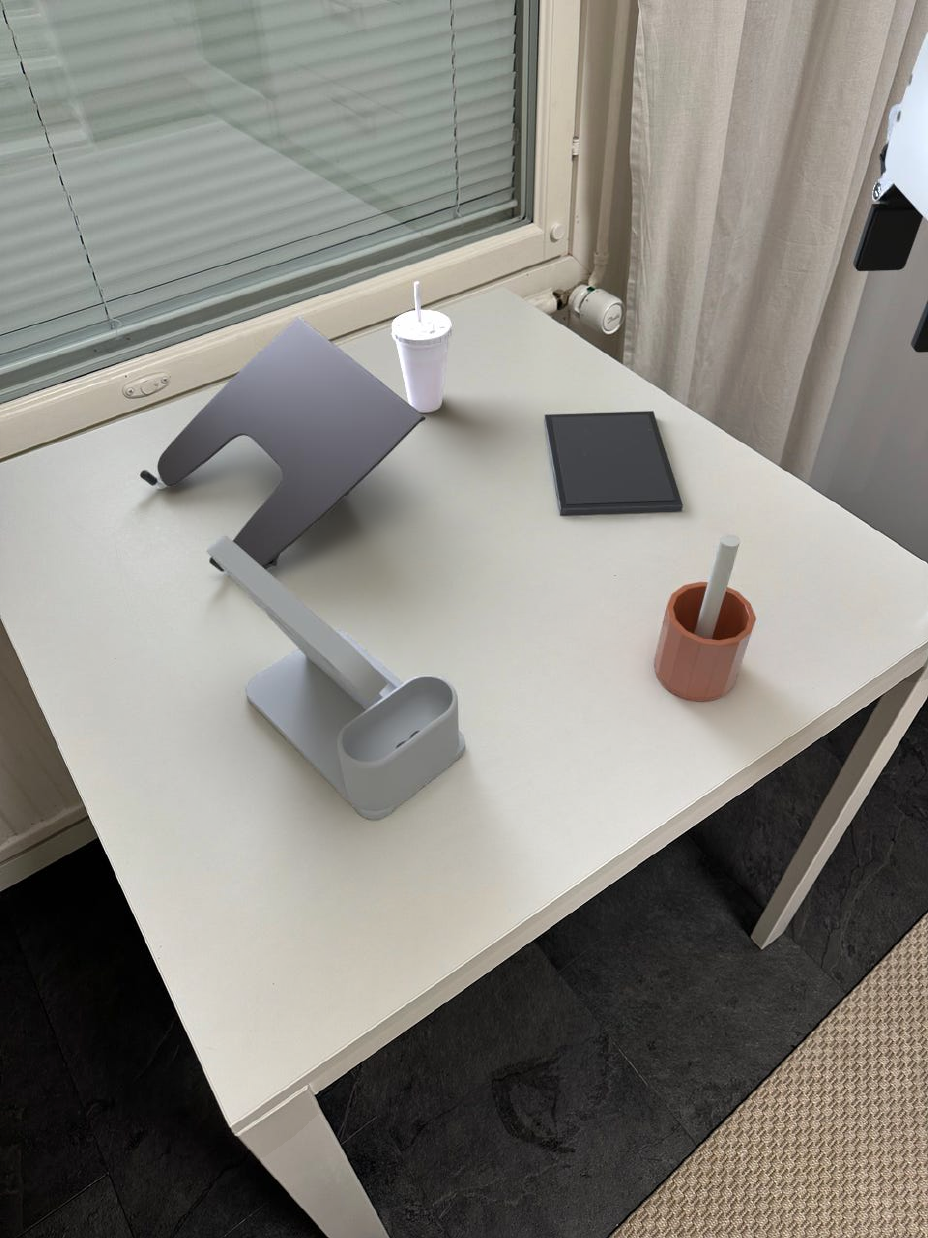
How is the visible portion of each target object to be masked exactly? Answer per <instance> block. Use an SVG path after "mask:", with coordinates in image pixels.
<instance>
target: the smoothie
mask: <svg viewBox="0 0 928 1238" xmlns="http://www.w3.org/2000/svg"><path fill="white" fill-rule="evenodd" d="M413 287H414V289H413V290H414V304H415V310H410V311H407V312H404V313H402V314H400V315H398V316H397V317H396V318H395V319H394V320H393V322H392V323H391V329H392V331H391V336H392V338H393V340H394V341H395V342H396V347H397V352H398V356H399V361H400V366H401V371H402V375H403V381H404V385H405V390H406V396H407V402H408V404H410V405H411V406H412V407H413V408H415V409H416V410H417V411H418V412H420V413H421V414H422V413H423V414H425V413H432V412H435V411H437V410H439V409H440V408H441V407H442V405H443V396H444V387H445V377H446V369H447V360H448V352H449V351H448V350H449V340H450V339H451V338H452V336H453V328H452V327H453V326H452V321H451V319H450V318H449V317H448V316H447V315H445V314H444V313H442V312H439V311H435V310H430V309H422V308H421V307H422V305H421V284H420V281H414V282H413Z"/></svg>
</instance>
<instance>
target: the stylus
mask: <svg viewBox="0 0 928 1238" xmlns="http://www.w3.org/2000/svg"><path fill="white" fill-rule="evenodd" d="M740 544H741V540H740V538H739V537H738V536H737V535H735V534H733V533H724V534H723V533H722V534H721V536H720V537H719V540H718V543H717V547H716V550H715V555H714V558H713V562H712V567H711V569H710V574H709V577H708V581H707V582H708V584H707V588H706V592H705V595H704V599H703V603H702V607H701V610H700V614H699V618H698V622H697V625H696V629H695V633H694V635H697V636H699V637H701V638H704V639H712V636H713V633H714V630H715V626H716V623H717V619H718V616H719V612H720V609H721V605H722V602H723V599H724V595H725V592H726V588H727V587H728V584H729V580H730V577H731V574H732V570H733V568H734V564H735V561H736V558H737V554H738V550H739V547H740Z"/></svg>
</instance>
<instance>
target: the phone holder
mask: <svg viewBox="0 0 928 1238" xmlns="http://www.w3.org/2000/svg"><path fill="white" fill-rule="evenodd" d="M206 553H207V554H208V555H209V556H210V558H211V557H212V558H213V559H214V560H215V561H216V562H217V563H218V564H219V565H220V566H221V567H222V568H223V569H224V571H225V572H226V573H227V574H226V575H228V576H229V577H230V578H231V579H232V580H233V581H234V583H236V585H238V587H240V588H241V590H242V591H243V592H244V593H245V594H246V595H247V596H248V597H249V598H250V599H251V600H252V601H253V602H254V604H256V606H258V608H260V609H261V611H263V613H264V614H265V615H266V616H267V617H268V618H269V619H270V620H271V621H272V622H273V623H274V624H275V625H276V626H277V627H278V628H279V630H280V631H281V632H282V633H283V634H284V635H285V636H286V637H287V638H288V639H289V640H290V641H291V642H292V643H293V644H294V645H295V646H296V647H297V649H295V650H294V651H292V652H291V653H289V654H288V655H286V656H285V657H283V658H282V659H280V660H278V661H276V662H275V663H273V664H272V665H270V666H269V667H268V668H266V669H264V670H262V671H261V672H260V673H258V674H257V675H255V676H253V677H252V678H250V679H249V681H248V682H247V684H246V686H245V694H246V697H247V700H248V702H249V703H250V704H251V705H252V706H253V707H254V708H255V709H256V710H257V711H258V712H259V713H260V714H261V715H262V716H263V717H264V718H265V719H266V720H267V721H268V722H269V723H270V724H271V725H272V726H273V727H274V728H275V729H276V730H277V731H278V733H280V734H281V736H283V737H284V738H285V739H286V740H287V742H288V743H290V744H291V745H292V747H293V748H295V749H296V750H297V751H298V752H299V754H300V755H302V757H303V758H304V759H305V760H306V761H307V762H308V763H309V764H310V765H311V766H312V767H313V768H314V769H315V770H316V771H317V772H318V773H319V774H320V775H321V776H322V777H323V778H324V779H325V781H327V782H328V783H329V784H330V785H331V786H332V787H333V788H334V789H335V790H336V791H337V793H338V794H340V795H341V797H343V798H344V799H345V800H346V801H347V803H348V804H349V805H350V806H351V807H352V808H353V809H355V810H356V812H357V813H358V814H359V815H361V816H362V817H363V818H364V819H367V820H370V821H371V820H372V821H378V820H381V819H385V818H386V817H388V816H389V815H390V814H392V813H393V812H394V811H395V810H396V809H398V808H399V807H401V806H402V805H403V804H405V802H406V801H408V800H409V799H411V798H412V797H413V796H414V795H415V794H417V793H418V792H419V791H420V790H421V789H423V788H424V787H426V786H427V785H428V784H429V783H430V782H432V781H433V780H434V779H435V778H437V777H438V776H439V775H441V774H442V773H443V772H444V771H446V770H447V769H448V768H449V767H451V766H452V765H453V764H454V763H456V762H457V761H458V760H459V759H460V758H462V756H463V755H464V753H465V751H466V739H465V737H464V734H463V733H462V732H461V731H460V729H459V699H458V698H459V697H458V693H457V690H456V688H455V687H454V686H453V684H452V683H451V682H450V681H448V680H447V679H446V678H444V677H440V676H438V675H434V674H421V675H417V676H414V677H411V678H410V679H407V680H406V681H405V682H403V680H401V679H400V678H399V677H398V676H397V675H395V674H394V673H393V672H392V671H391V670H389V668H387V667H386V666H385V665H384V664H383V663H382V662H381V661H379V660H378V659H377V658H376V657H375V656H373V654H371V653H370V652H368V650H366V649H365V648H364V647H363V646H362V645H361V644H360V643H359V642H357V641H356V640H355V639H354V638H353V637H351V636H350V635H349V634H348V633H347V632H346V631H344V630H342V629H335V628H333V627H331V625H329V624H328V623H327V622H326V621H325V620H323V619H322V618H321V617H320V615H318V614H317V613H316V612H315V611H313V610H312V609H311V608H310V607H309V606H307V604H306V603H304V602H303V601H302V600H301V599H300V598H298V596H296V595H295V594H294V593H293V592H292V591H291V590H290V589H288V588H287V587H286V586H285V585H283V584H282V583H281V582H280V581H279V580H278V579H277V578H275V576H273V575H272V574H271V573H270V572H268V571H267V569H266V570H265V569H264V568H263V567H262V566H261V565H259V564H258V563H257V562H256V561H255V560H254V559H252V558H251V557H250V556H249V555H248V554H247V553H246V552H244V551H243V550H242V549H241V548H240V547H239V546H238V545H236V544H235V543H234V542H233V540H232V539H231V538H230V537H228V536H227V535H226V534H225V533H223V534H222V535H221V536H219V538H218V539H217V540H216V541H215V542H214V543H212V545H210V546H209V547H208V548H207V549H206Z"/></svg>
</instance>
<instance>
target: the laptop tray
mask: <svg viewBox="0 0 928 1238" xmlns="http://www.w3.org/2000/svg"><path fill="white" fill-rule="evenodd" d="M424 421H426V416H425V415H423V414H422V412H418V411H417V410H416V409H415V408H413V407H412V406H411V405H410V404H409V402H408V401H406V400H405V399H403V398H402V397H401V396H400V395H398V394H397V393H396V392H394V390H392V389H391V388H390V387H389V386H387V385H386V384H385V383H383V382H382V381H381V380H380V379H378V378H377V377H376V376H375V375H373V374H372V373H371V372H370V371H368V370H367V369H366V368H365V367H363V366H362V365H361V364H360V363H359V362H357V360H355V359H353V358H352V357H351V356H350V355H348V354H347V353H345V352H344V351H343V350H342V349H341V348H339V346H337V345H336V344H334V343H333V342H332V341H331V340H330V339H328V338H327V337H326V336H325V335H324V334H322V333H321V332H320V331H318V330H317V329H316V328H315V327H313V326H312V325H311V324H310V323H308V322H307V321H306V320H305V319H303V318H302V317H301V316H297V317H296V318H294V319H293V320H292V321H291V322H290V323H289V324H288V325H287V326H286V327H285V328H284V329H282V331H281V332H279V333H278V334H277V335H276V336H275V337H273V339H272V340H271V341H270V342H269V343H267V344H266V345H265V346H264V347H263V348H262V349H261V350H260V351H259V352H258V353H257V354H256V355H255V356H254V357H253V358H252V359H251V360H250V361H249V362H247V364H246V365H244V367H242V368H241V370H240V371H238V372H237V374H236V375H234V377H232V378H231V379H230V380H229V382H227V383H226V384H225V385H224V386H223V387H222V388H221V389H220V390H219V392H217V393H216V394H215V396H213V397H212V399H211V400H209V401H208V403H207V404H205V405H204V407H203V408H202V409H200V411H199V412H198V413H197V414H196V415H195V416H194V417H193V418H192V419H191V420H190V421H189V423H188V424H187V425H185V427H184V428H183V429H182V430H181V432H179V434H178V435H177V436H175V438H174V439H173V440H172V441H171V443H170V444H169V445H168V446H167V447H166V448H165V449H164V450H163V452H162V454H161V455H160V457H159V459H158V462H157V473H158V475H159V477H160V479H161V480H158V478H157V477H156V476H154V475H153V474H152V473H151V472H149V471H148V470H147V469H143V470H142V471H140V474H139V476H140V478H141V479H143V481H145V482H146V483H147V484H148V485H150V486H152V487H153V488H155V489H157V490H163V489H165V488H167V487H168V488H172V487H175V486H176V485H178V484H180V483H181V482H182V481H183V480H185V479H186V478H187V477H188V476H190V475H191V474H192V473H194V472H195V471H197V470H198V469H199V468H200V467H202V466H203V465H205V464H206V463H207V462H208V461H209V460H210V459H212V458H213V457H214V456H216V454H217V453H219V452H220V451H221V450H223V448H224V447H226V446H227V445H228V444H229V443H230V442H232V441H233V440H234V439H237V438H238V437H242V436H247V437H249V438H250V439H252V440H253V441H254V442H255V443H256V444H257V445H258V446H259V447H260V448H261V449H262V450H263V451H264V452H265V453H266V454H267V455H268V456H269V457H270V458H271V459H272V460H273V461H274V462H275V463H276V464H277V465H278V467H279V468H280V469H281V472H282V477H281V481H280V483H279V485H278V486H277V488H276V489H275V490H274V491H273V492H272V494H270V496H268V497H267V499H266V500H265V501H264V502H263V503H262V504H261V505H260V507H258V509H257V510H256V511H255V513H254V514H253V515H252V516H251V517H250V518H249V520H248V521H247V522H246V523H245V524H244V525H243V527H242V528H241V529H240V530H239V532H238V533H237V534H236V536H235V537H234V538H233V540H232V541H233V542H234V543H235V544H236V545H238V546H239V547H240V548H241V549H242V550H243V551H244V552H246V553H247V554H248V555H249V556H250V557H251V558H252V559H254V560H255V561H256V562H257V563H258V564H259V565H261V566H262V567H263V568H264V569H265V570H266V571H267V569H269V568H275V567H277V566H278V558H279V557H280V555H281V554H282V553H283V552H285V551H286V550H287V549H288V548H289V547H290V546H292V545H293V544H294V543H295V542H296V541H297V540H299V538H301V537H302V536H303V535H304V534H306V533H307V532H308V531H309V530H310V529H312V527H314V526H315V525H316V524H317V523H318V522H319V521H320V520H321V519H323V518H324V517H325V516H326V515H328V513H329V512H330V511H332V509H333V508H334V507H336V506H337V505H338V504H339V503H340V502H341V501H342V500H343V499H344V498H345V497H348V495H349V494H350V493H351V492H352V490H353V489H355V488H356V487H357V486H358V485H359V484H360V483H361V482H362V481H363V480H364V479H365V478H366V477H367V476H368V475H369V474H370V473H372V471H373V470H375V469H376V467H378V466H379V465H380V464H381V462H382V461H384V459H386V458H387V457H388V456H389V455H390V454H391V453H392V452H393V451H394V449H395V448H397V447H398V445H400V444H401V443H402V441H404V440H405V438H406V437H407V436H408V435H409V434H410V433H412V431H413V430H414V429H416V427H417V426H418V425H419V424H420V423H422V422H424ZM208 561H209V564H210V565H212V566H213V567H214V568H216V569H217V570H218V571H219V572H221V573H223V574H225V575H228V574H227V573H226V572H225V571H224V569H223V568H222V567H221V566H220V565H219V564H218V563H217V562H216V561H215V560H214V559H213V558H212V557H211V556H210V557H209V560H208Z"/></svg>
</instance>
